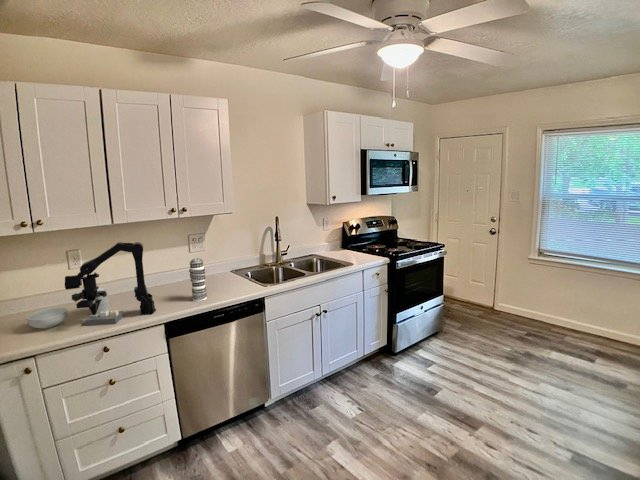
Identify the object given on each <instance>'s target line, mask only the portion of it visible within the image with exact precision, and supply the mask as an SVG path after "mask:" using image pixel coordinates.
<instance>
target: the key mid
mask: <svg viewBox="0 0 640 480" xmlns="http://www.w3.org/2000/svg"><path fill="white" fill-rule="evenodd" d="M109 312H110V310H109V311H102V312H101V313H100V317H107V316H108V315H109Z"/></svg>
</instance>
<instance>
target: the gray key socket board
mask: <svg viewBox="0 0 640 480" xmlns="http://www.w3.org/2000/svg"><path fill="white" fill-rule="evenodd" d="M110 312H111V311H109V315H108V316H107V317H100V313H99V316H98V317H95V318H90V316H88V317H87V318H86V319H85V320H84V325H85V326H86V327H87V326H102V325H117V323H119V322H118V321H119V320H123V318H124V317H125V312H124V310H121V311H120V310H118V312H119V314H118V315H117V316H110ZM96 314H98V313H96Z"/></svg>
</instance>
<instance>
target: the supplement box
mask: <svg viewBox="0 0 640 480" xmlns="http://www.w3.org/2000/svg"><path fill="white" fill-rule="evenodd" d="M97 291H105V292H106V293H107V294H108V290H107V288H103V287H99V288H98V289H97ZM108 297H109V296H108V295H107V296H105V297H103V296H100V297H98V298H99V300H100V299H101V300H102V301H101V302H100V305H99V307H98V310H97V313H101V312H102V311H109V312H110V310H111V309H110V306H109V305H110V303H109V298H108Z"/></svg>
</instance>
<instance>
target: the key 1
mask: <svg viewBox="0 0 640 480" xmlns="http://www.w3.org/2000/svg"><path fill="white" fill-rule="evenodd" d="M98 316H99V313H98V314H95V315H93V314H91V315H90V316H89V317H90V318H95V317H98Z"/></svg>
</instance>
